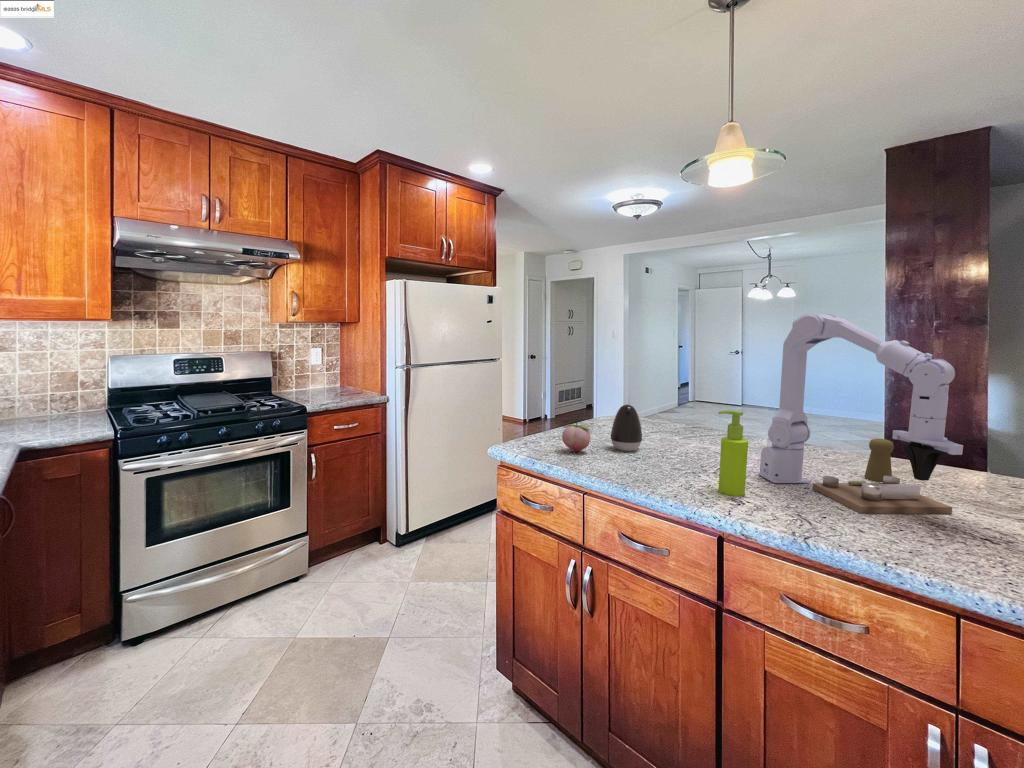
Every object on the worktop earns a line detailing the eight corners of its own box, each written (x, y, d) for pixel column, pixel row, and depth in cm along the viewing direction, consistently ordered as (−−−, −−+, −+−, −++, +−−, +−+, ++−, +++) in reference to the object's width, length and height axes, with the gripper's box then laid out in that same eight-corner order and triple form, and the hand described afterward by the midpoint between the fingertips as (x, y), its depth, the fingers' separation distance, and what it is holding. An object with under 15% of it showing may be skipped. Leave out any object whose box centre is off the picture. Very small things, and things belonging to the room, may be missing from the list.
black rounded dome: (610, 452, 151) (612, 406, 150) (609, 445, 161) (611, 401, 160) (643, 454, 150) (645, 407, 148) (640, 446, 160) (641, 402, 158)
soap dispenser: (716, 485, 119) (721, 408, 117) (746, 491, 115) (751, 411, 113) (711, 492, 114) (716, 411, 112) (742, 497, 111) (747, 414, 108)
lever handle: (869, 500, 104) (870, 487, 104) (857, 495, 108) (858, 482, 108) (923, 500, 104) (924, 487, 104) (909, 495, 108) (911, 482, 108)
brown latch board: (860, 513, 101) (862, 497, 101) (812, 488, 117) (813, 475, 117) (952, 513, 101) (953, 498, 101) (891, 489, 118) (892, 475, 117)
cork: (897, 483, 122) (901, 442, 121) (871, 482, 123) (875, 441, 122) (884, 476, 128) (888, 437, 127) (859, 475, 129) (863, 436, 128)
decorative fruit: (593, 450, 154) (594, 420, 153) (587, 456, 147) (587, 425, 146) (566, 447, 158) (566, 418, 157) (558, 453, 150) (559, 422, 149)
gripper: (981, 423, 91) (973, 490, 93) (916, 411, 106) (910, 469, 107) (945, 423, 91) (938, 490, 93) (885, 411, 106) (880, 469, 107)
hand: (921, 479), depth 100 cm, fingers closed
